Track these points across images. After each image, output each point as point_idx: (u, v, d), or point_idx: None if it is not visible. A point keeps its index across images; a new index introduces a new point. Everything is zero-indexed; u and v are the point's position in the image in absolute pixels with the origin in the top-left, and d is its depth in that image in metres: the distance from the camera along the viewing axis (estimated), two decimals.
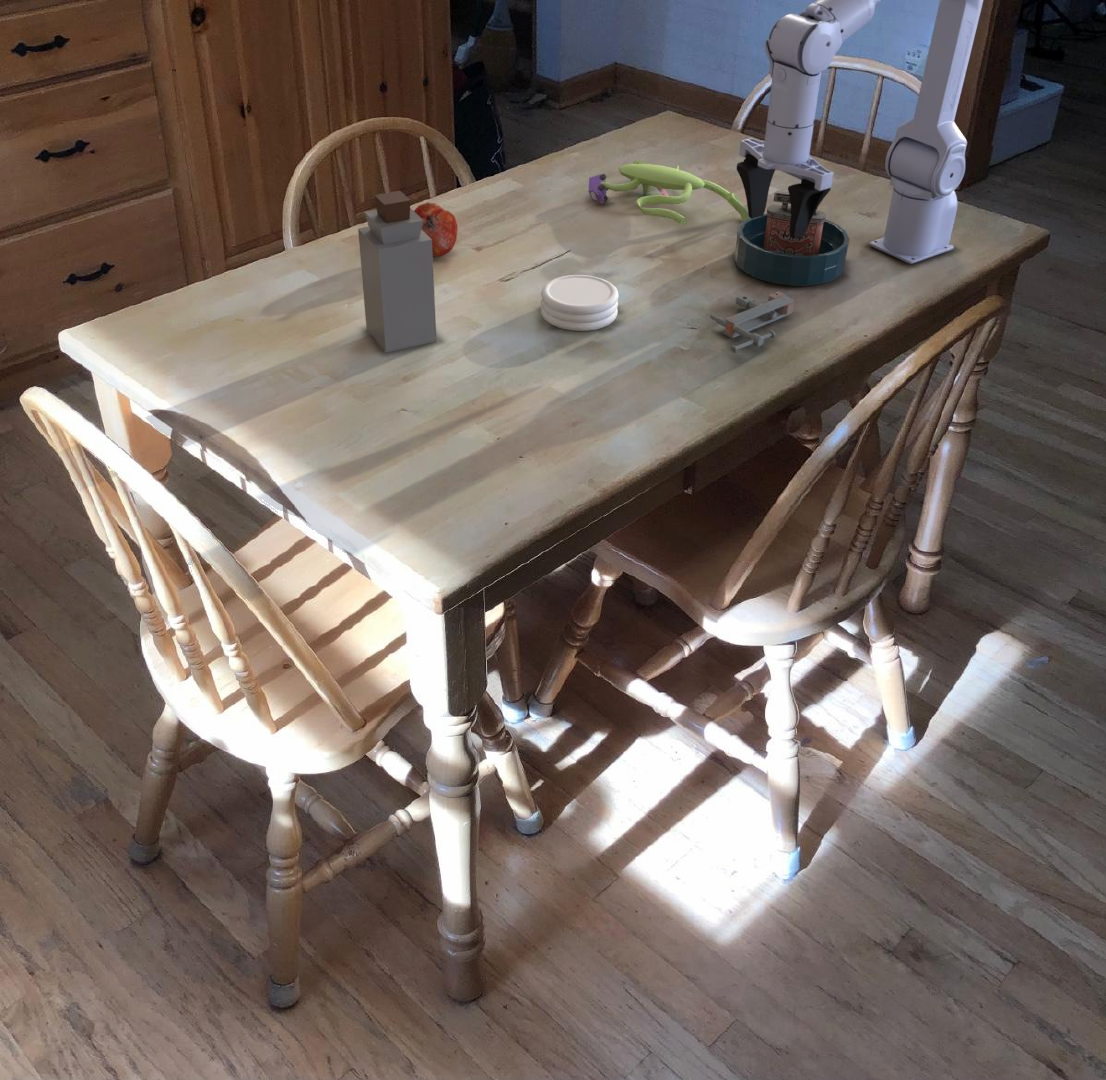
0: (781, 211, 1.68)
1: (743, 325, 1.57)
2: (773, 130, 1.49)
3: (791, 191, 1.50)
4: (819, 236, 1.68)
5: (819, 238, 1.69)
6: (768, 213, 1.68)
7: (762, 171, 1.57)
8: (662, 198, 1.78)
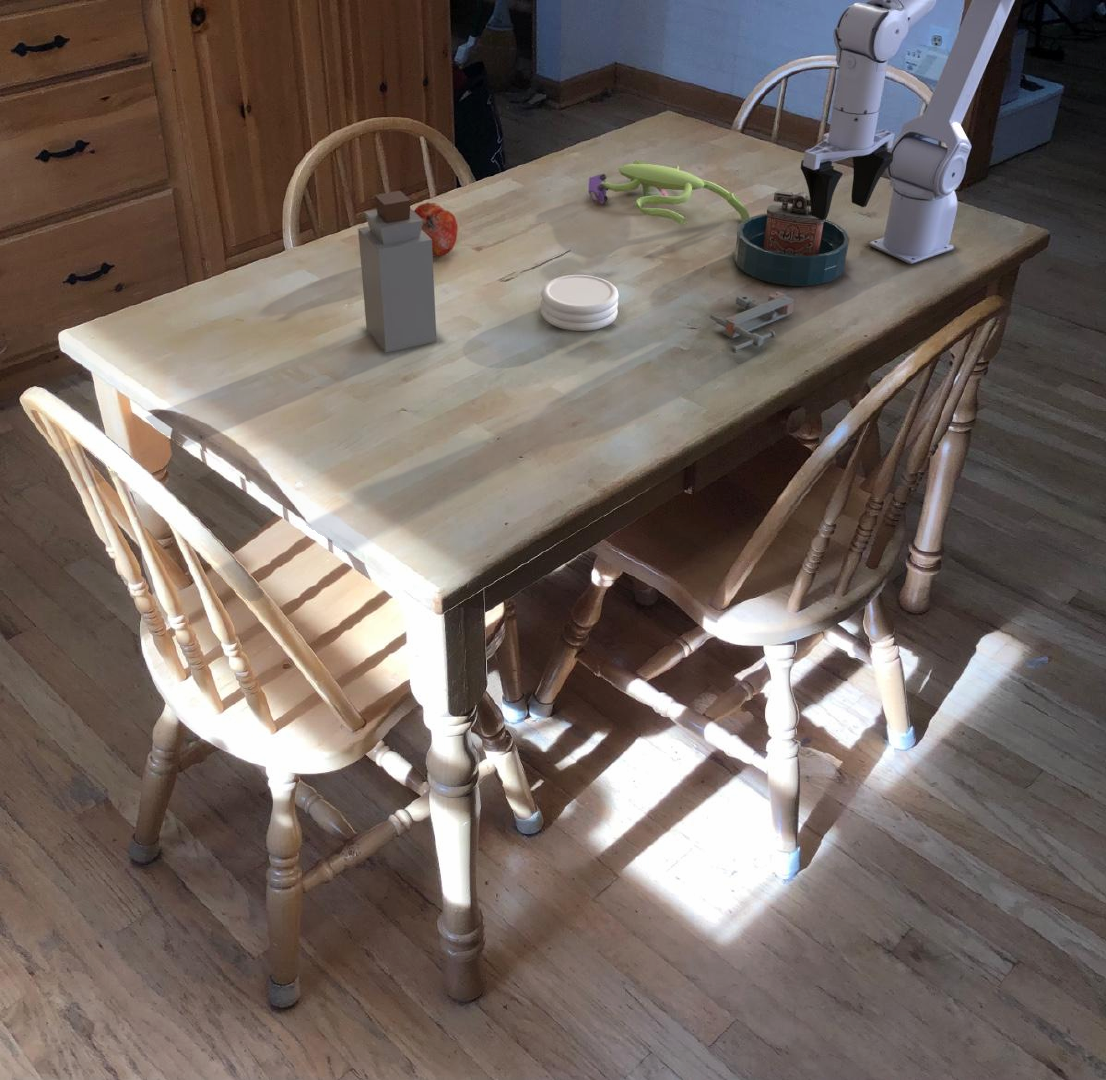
0: (781, 211, 1.68)
1: (743, 325, 1.57)
2: None
3: None
4: (819, 236, 1.68)
5: (819, 238, 1.69)
6: (768, 213, 1.68)
7: (866, 160, 1.60)
8: (662, 198, 1.78)
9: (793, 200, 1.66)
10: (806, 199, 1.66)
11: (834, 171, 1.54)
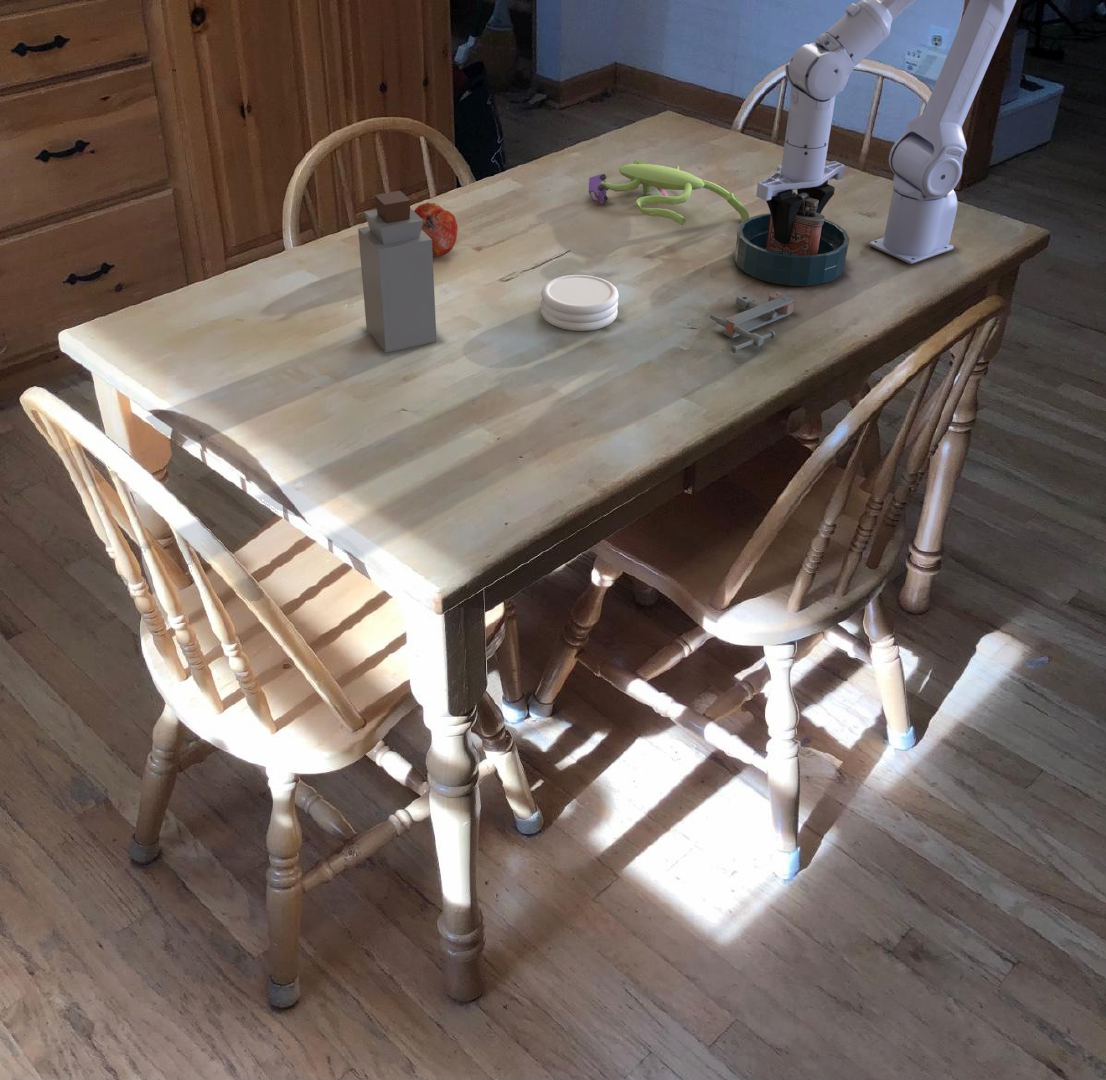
0: None
1: (743, 325, 1.57)
2: None
3: None
4: (815, 239, 1.67)
5: (815, 241, 1.67)
6: None
7: (809, 193, 1.68)
8: (662, 198, 1.78)
9: None
10: (805, 200, 1.66)
11: (794, 199, 1.64)
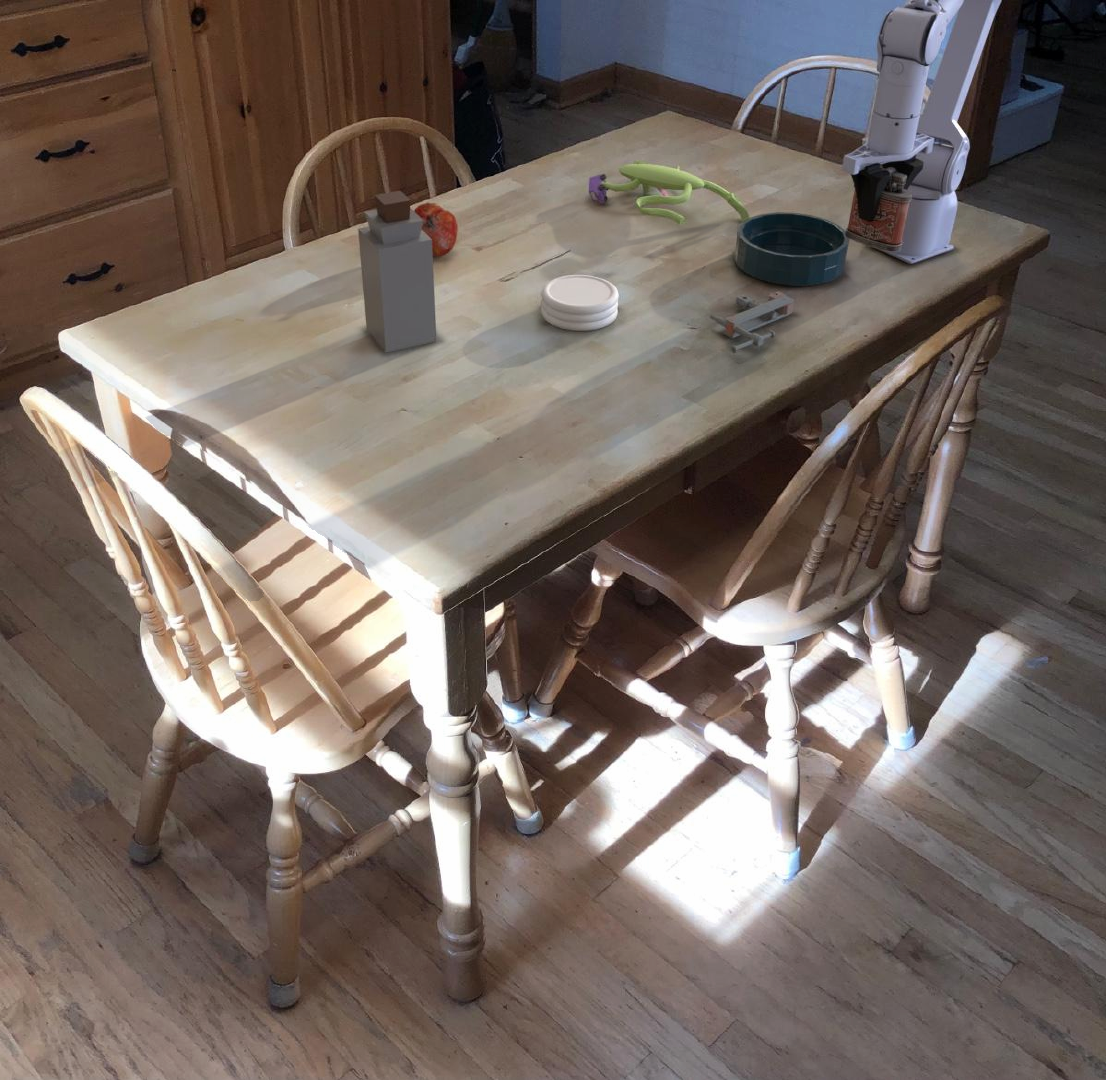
0: None
1: (743, 325, 1.57)
2: None
3: None
4: (902, 217, 1.57)
5: (902, 219, 1.58)
6: None
7: (896, 167, 1.58)
8: (662, 198, 1.78)
9: None
10: (892, 174, 1.56)
11: (883, 173, 1.54)
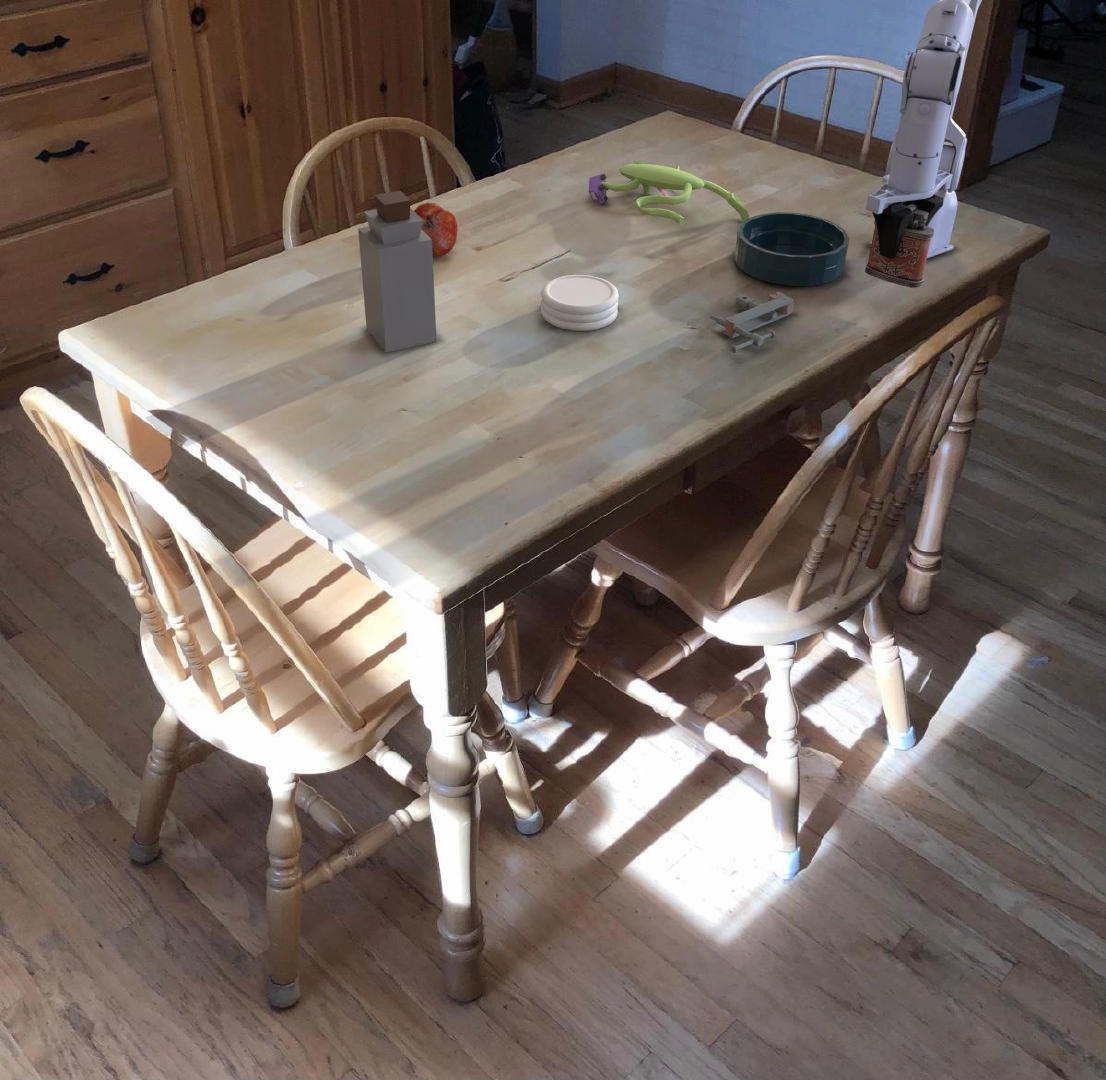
0: None
1: (743, 325, 1.57)
2: None
3: None
4: (924, 254, 1.58)
5: (924, 256, 1.58)
6: (874, 222, 1.60)
7: (916, 204, 1.58)
8: (661, 198, 1.78)
9: None
10: (913, 212, 1.56)
11: (905, 211, 1.54)
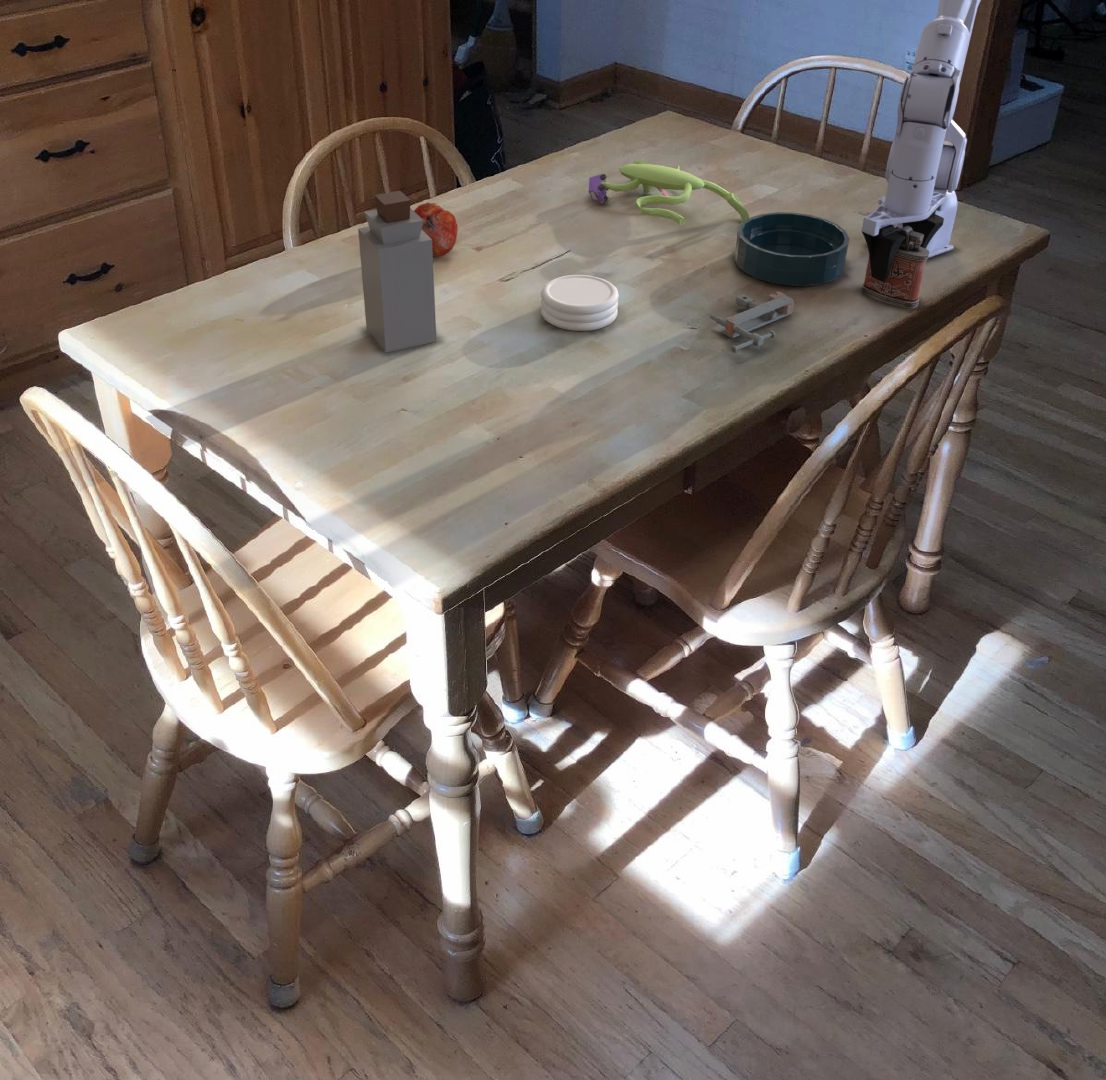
0: None
1: (743, 325, 1.57)
2: None
3: None
4: (919, 275, 1.60)
5: (919, 277, 1.60)
6: None
7: (916, 224, 1.61)
8: (661, 198, 1.78)
9: None
10: (909, 234, 1.58)
11: (896, 235, 1.56)
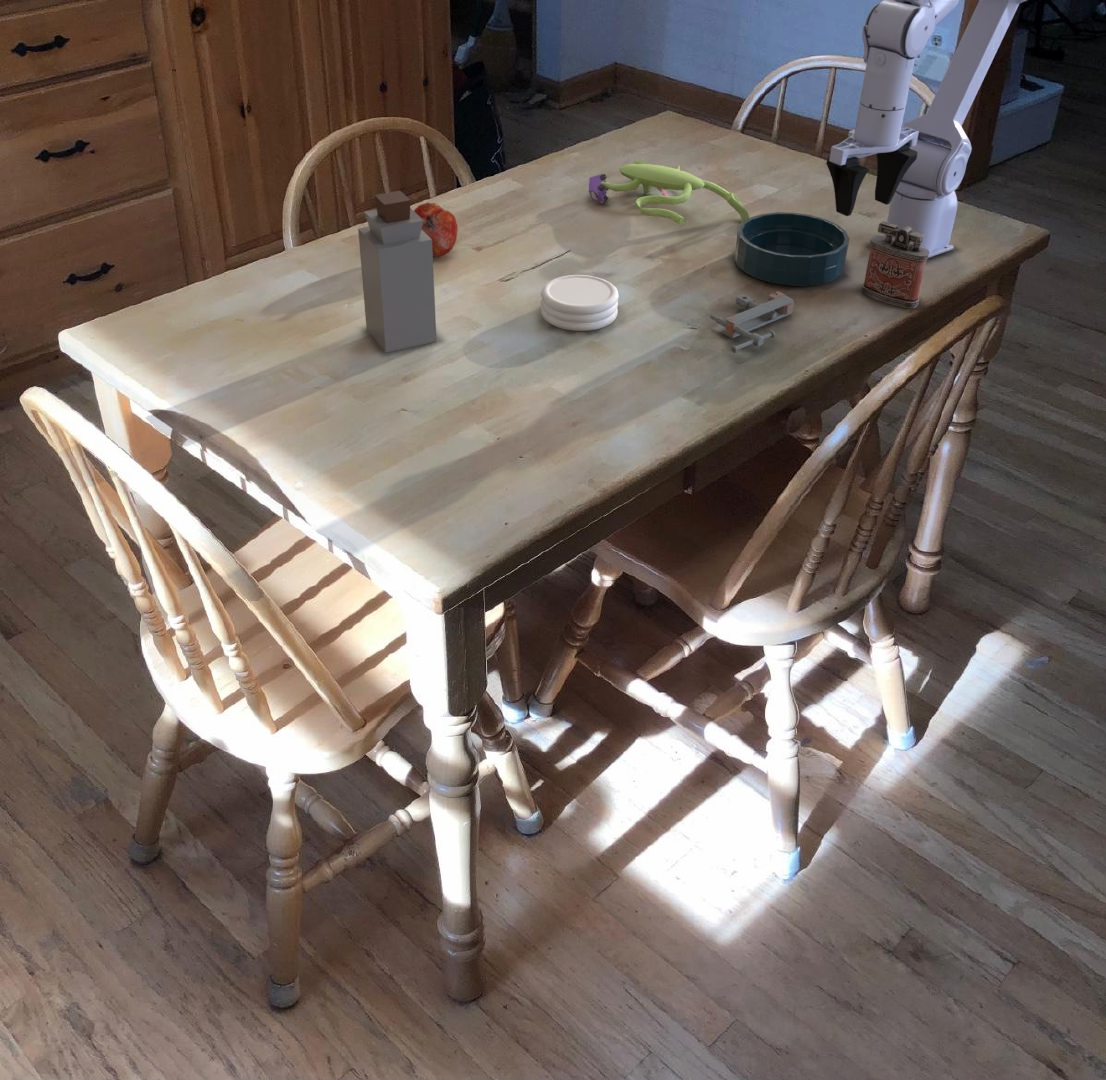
0: (883, 243, 1.61)
1: (743, 325, 1.57)
2: None
3: None
4: (919, 275, 1.60)
5: (919, 277, 1.60)
6: (870, 243, 1.62)
7: (890, 157, 1.61)
8: (661, 198, 1.78)
9: (896, 233, 1.59)
10: (909, 234, 1.58)
11: (860, 167, 1.55)
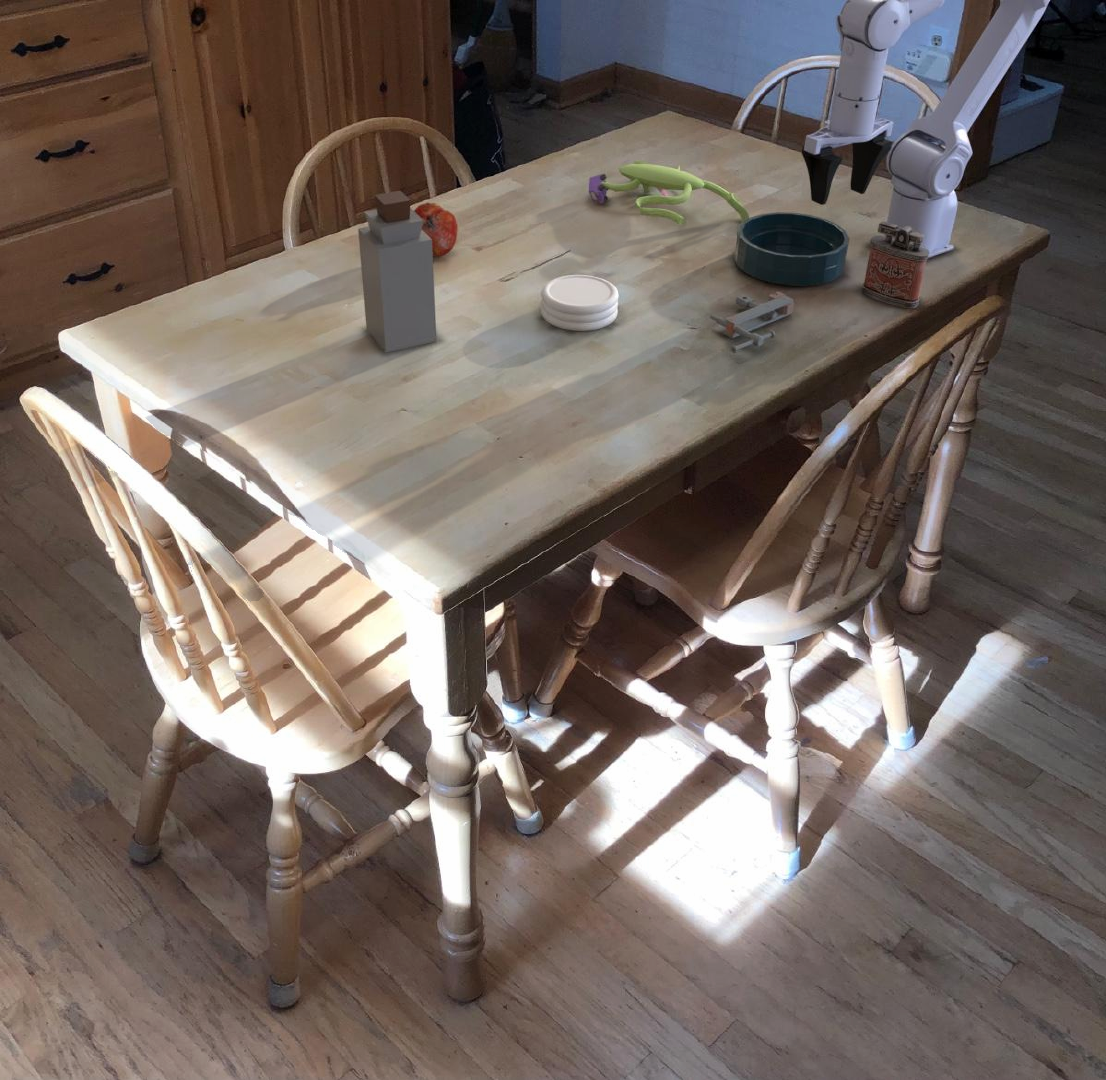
0: (883, 243, 1.61)
1: (743, 325, 1.57)
2: None
3: None
4: (919, 275, 1.60)
5: (919, 277, 1.60)
6: (870, 243, 1.62)
7: (865, 147, 1.64)
8: (661, 198, 1.78)
9: (896, 233, 1.59)
10: (909, 234, 1.58)
11: (834, 156, 1.58)
